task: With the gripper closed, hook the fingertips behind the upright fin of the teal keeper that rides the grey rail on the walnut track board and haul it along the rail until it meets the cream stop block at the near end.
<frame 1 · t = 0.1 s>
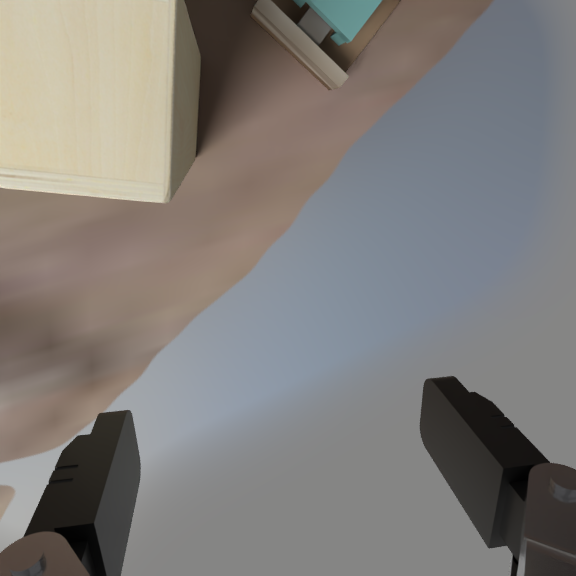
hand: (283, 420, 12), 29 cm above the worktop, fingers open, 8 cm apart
toy refrigerator: (150, 102, 36), on the worktop
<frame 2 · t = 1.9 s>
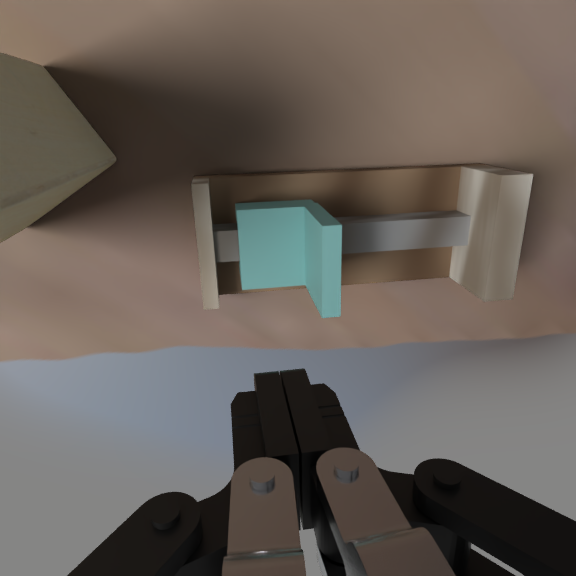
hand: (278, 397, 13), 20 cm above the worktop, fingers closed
keeper: (282, 253, 27), point 5 cm above the worktop, slide at 0.0 cm
toy refrigerator: (30, 144, 28), on the worktop
track: (341, 226, 33), on the worktop
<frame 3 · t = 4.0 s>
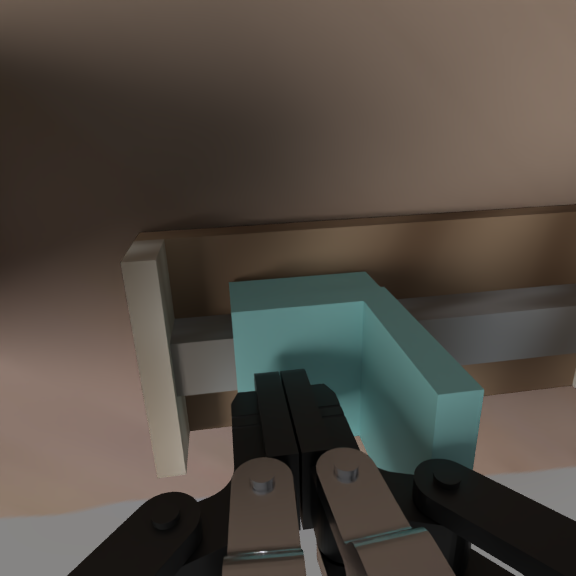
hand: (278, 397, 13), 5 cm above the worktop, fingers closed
keeper: (322, 395, 14), point 5 cm above the worktop, slide at 0.5 cm, touching gripper
track: (397, 309, 19), on the worktop
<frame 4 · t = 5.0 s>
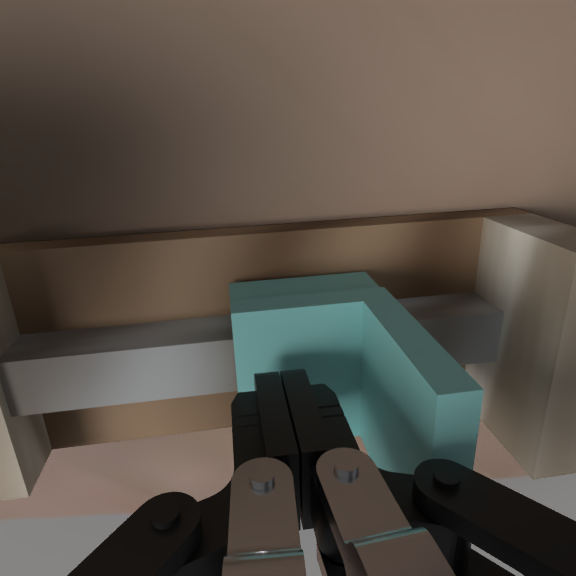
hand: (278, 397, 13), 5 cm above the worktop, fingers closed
keeper: (322, 395, 14), point 6 cm above the worktop, slide at 5.9 cm, touching gripper
track: (272, 321, 19), on the worktop
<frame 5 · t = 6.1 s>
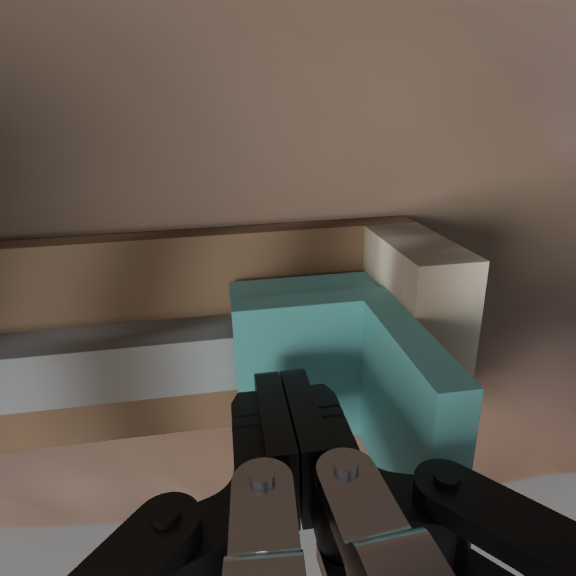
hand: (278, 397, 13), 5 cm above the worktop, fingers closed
keeper: (322, 394, 14), point 5 cm above the worktop, slide at 10.5 cm, touching gripper, track
track: (156, 331, 18), on the worktop
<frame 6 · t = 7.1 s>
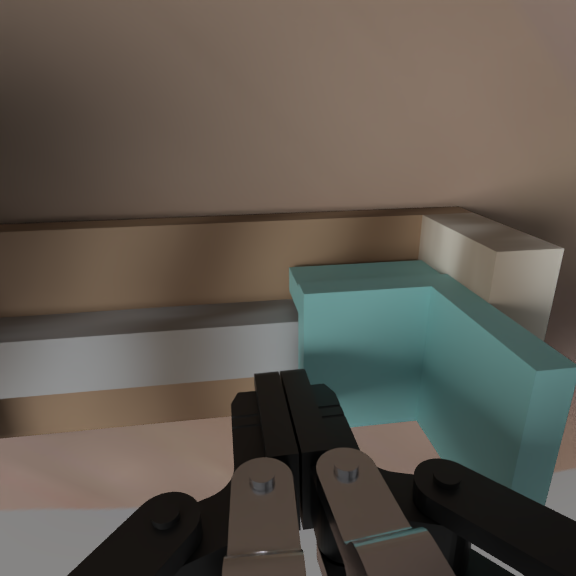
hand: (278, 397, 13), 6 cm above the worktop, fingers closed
keeper: (390, 377, 14), point 6 cm above the worktop, slide at 10.5 cm, touching track
track: (209, 315, 18), on the worktop
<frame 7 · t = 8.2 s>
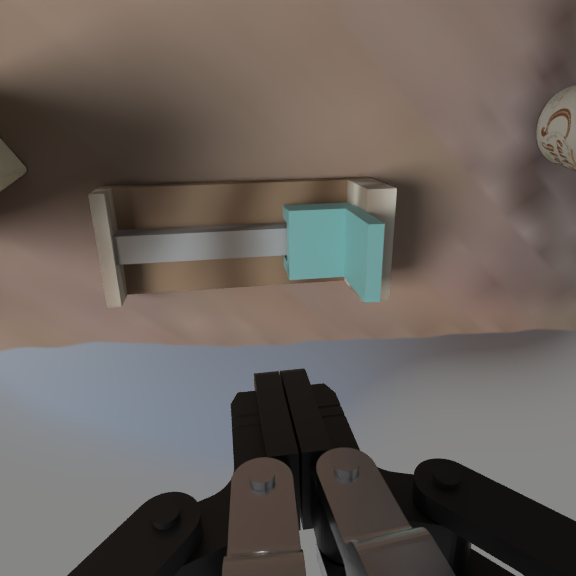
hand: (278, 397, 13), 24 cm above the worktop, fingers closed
keeper: (327, 248, 31), point 5 cm above the worktop, slide at 10.5 cm, touching track
track: (242, 233, 36), on the worktop
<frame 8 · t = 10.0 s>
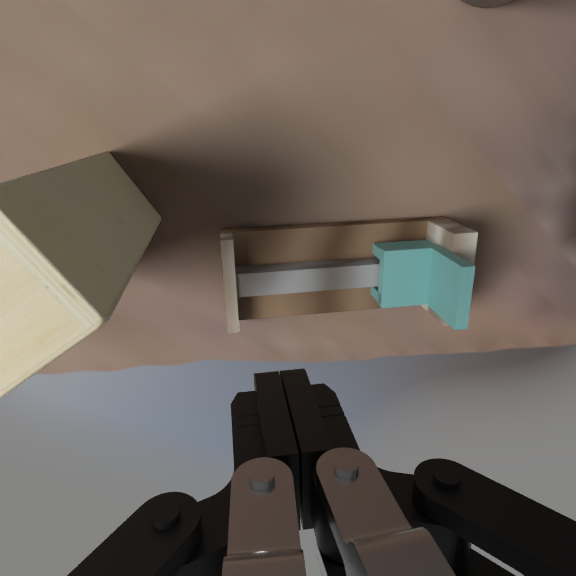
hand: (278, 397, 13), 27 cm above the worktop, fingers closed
keeper: (416, 282, 37), point 6 cm above the worktop, slide at 10.5 cm, touching track
toy refrigerator: (96, 207, 37), on the worktop
track: (334, 266, 41), on the worktop
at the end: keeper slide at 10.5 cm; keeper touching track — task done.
